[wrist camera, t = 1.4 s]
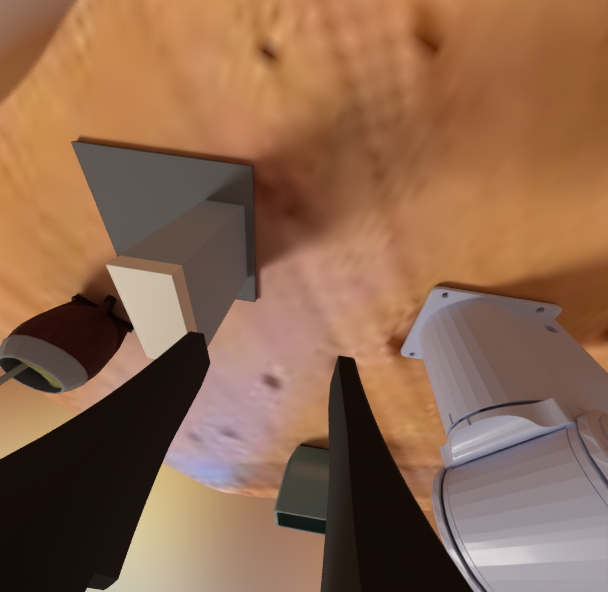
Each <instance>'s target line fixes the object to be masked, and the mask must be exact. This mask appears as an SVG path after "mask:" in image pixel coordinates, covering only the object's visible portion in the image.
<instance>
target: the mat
mask: <svg viewBox="0 0 608 592" xmlns="http://www.w3.org/2000/svg"><path fill="white" fill-rule="evenodd" d="M71 143H72V146H73V148H74V151H75V153H76V155H77V158H78V160H79V163H80V165H81V168H82V170H83V173H84V175H85V178H86V180H87V183H88V185H89V188H90V190H91V192H92V195H93V197H94V200H95V202H96V205H97V207H98V210H99V212H100V215H101V217H102V220H103V222H104V225H105V227H106V229H107V232H108V234H109V237H110V239H111V242H112V244H113V247H114V249H115V252H116V254H117V257H118V256H120V255H121V254H123V253H124V252H126V251H127V250H129V249H130V248H132V247H133V246H135V245H136V244H138V243H140V242H141V241H143V240H144V239H146V238H147V237H149V236H150V235H152V234H153V233H155V232H156V231H158V230H159V229H161V228H162V227H164V226H166V225H167V224H169V223H170V222H172V221H173V220H175V219H176V218H178V217H179V216H181V215H182V214H184V213H185V212H187V211H189V210H190V209H192V208H193V207H195V206H196V205H198V204H199V203H201V202H202V201H204V200H209V201H216V202H222V203H229V204H236V205H243V206H244V214H245V235H246V256H247V277H248V278H247V280H246V282H245V283H244V285H243V287H242V288H241V290H240V292H239V294H238V295H237V297H236V299H238V300H244V301H250V302H256V257H255V214H254V170H253V166H252V165H245V164H238V163H231V162H223V161H216V160H209V159H202V158H195V157H187V156H180V155H173V154H166V153H159V152H151V151H144V150H137V149H130V148H123V147H115V146H108V145H101V144H94V143H87V142H79V141H73V142H71Z"/></svg>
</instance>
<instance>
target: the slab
mask: <svg viewBox="0 0 608 592" xmlns="http://www.w3.org/2000/svg"><path fill="white" fill-rule="evenodd" d="M106 266H107V268H108V271H109V273H110V275H111V277H112V280H113V282H114V284H115V286H116V289H117V291H118V293H119V295H120V298H121V300H122V302H123V304H124V306H125V309H126V311H127V313H128V315H129V318H130V320H131V322H132V324H133V327H134V329H135V331H136V333H137V335H138V338H139V340H140V342H141V344H142V347H143V349H144V351H145V353H146V356H147V358H152V359H157V358H158V357H159V356H160V355H162V354H163V353H164V352H165V351H166V350H168V349H169V348H170V347H171V346H172V345H174V344H175V343H176V342H177V341H178V340H180V339H181V338H182V337H183V336H184V335H186V334H187V333H188V332H190V331H192V332H199V333H204V336H205V341H206V346H207V347H208V345H209V344H210V342H211V340H212V338H213V337H214V335H215V333H216V332H217V330H218V328H219V326H220V325H221V323H222V321H223V319H224V318H225V316H226V314H227V313H228V311H229V309H230V307H231V306H232V304H233V302H234V301H235V299H236V297H237V295H238V294H239V292H240V290H241V288H242V287H243V285H244V283H245V282H246V280H247V278H248V277H247V256H246V235H245V214H244V206H243V205H236V204H229V203H222V202H216V201H209V200H204V201H202V202H201V203H199V204H198V205H196V206H195V207H193V208H192V209H190V210H189V211H187V212H185V213H184V214H182V215H181V216H179V217H178V218H176V219H175V220H173V221H172V222H170V223H169V224H167V225H166V226H164V227H162V228H161V229H159V230H158V231H156V232H155V233H153V234H152V235H150V236H149V237H147V238H146V239H144V240H143V241H141V242H140V243H138V244H136V245H135V246H133V247H132V248H130V249H129V250H127V251H126V252H124V253H123V254H121V255H120V256H118V257H117V258H115V259H113V260H112V261H110V262H109V263H107V264H106Z"/></svg>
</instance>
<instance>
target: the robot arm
mask: <svg viewBox="0 0 608 592" xmlns="http://www.w3.org/2000/svg"><path fill="white" fill-rule="evenodd" d="M446 292H447V294H445V295H442V294H443V293H446ZM538 308H539V309H538ZM561 312H562V309H561V307H559V306H558V305H556V304H550V303H544V302H537V301H531V300H525V299H518V298H512V297H505V296H499V295H493V294H486V293H480V292H474V291H467V290H461V289H454V288H448V287H442V286H437V287H434V288H433V289H432V290H431V292H430V294H429V296H428V298H427V300H426V301H425V303H424V305H423V307H422V309H421V311H420V313H419V315H418V317H417V319H416V321H415V323H414V325H413V327H412V329H411V331H410V333H409V335H408V337H407V339H406V341H405V343H404V344H403V346H402V348H401V354H402V355H403V356H405V357H411V358H417V359H423V360H424V364H425V367H426V370H427V374H428V377H429V380H430V384H431V387H432V390H433V394H434V397H435V400H436V403H437V407H438V410H439V413H440V417H441V420H442V423H443V427H444V430H445V433H446V436H447V440H448V441H447V442H446V443H445V444H444V445H442V446H441V447H440V451H441V455H442V458H443V462H444V466H443V467H442V468H440V469H439V470H438V472H437V473H436V475H435V477H434V480H433V485H432V503H433V511H434V515H435V519H436V524H437V527H438V530H439V533H440V536H441V538H442V541H443V543H444V545H445V547H444V546H443V544H442V543H441V541H440V539H439V538H438V536H437V535H436V533H435V532H434V530H433V528H432V527H431V525H430V523H429V522H428V520H427V519H426V517H425V515H424V513H423V512H422V510H421V508H420V506H419V505H418V503H417V501H416V500H415V498H414V496H413V495H412V493H411V491H410V489H409V488H408V486H407V484H406V482H405V480H404V478H403V477H402V475H401V473H400V471H399V469H398V467H397V465H396V463H395V461H394V459H393V457H392V456H391V453H390V451H389V449H388V447H387V445H386V443H385V441H384V439H383V437H382V434H381V432H380V430H379V428H378V425H377V423H376V421H375V418H374V416H373V413H372V411H371V408H370V406H369V403H368V400H367V398H366V395H365V392H364V389H363V386H362V383H361V380H360V377H359V374H358V370H357V366H356V362H355V360H354V358H351V357H345V356H338V359H337V362H336V366H335V369H334V373H333V376H332V380H331V383H330V395H329V407H328V412H329V487H328V503H327V517H326V531H325V544H324V557H323V570H322V582H321V592H608V373H607V372H606V371H605V370H604V369H603V368H602V367H601V366H600V365H599V364H598V363H597V362H596V361H595V360H594V359H593V357H592V356H591V355H590V354H589V353H588V352H587V351H586V350H585V349H584V348H583V347H582V346H581V345H580V344H579V343H578V342H577V341H576V340H575V339H574V338H573V337H572V336H571V335H570V334H569V333H568V332H567V331H566V330H565V329H564V328H563V327H562V326H561V325H560V324H559V323H558V322H557V321H556V320H555V318H556V317H557V316H558V315H559V314H560V313H561ZM412 352H413V353H412ZM209 365H210V360H209V355H208V350H207V346H206V341H205V336H204V333H199V332H192V331H190V332H188V333H187V334H186V335H184V336H183V337H182V338H181V339H180V340H178V341H177V342H176V343H175V344H174V345H172V346H171V347H170V348H169V349H168V350H166V351H165V352H164V353H163V354H162V355H160V356H159V357H158V358H157V359H155V360H154V361H153V362H152V363H150V364H149V365H148V366H147V367H145V368H144V369H143V370H142V371H140V372H139V373H138V374H137V375H135V376H134V377H132V378H131V379H130V380H128V381H127V382H126V383H124V384H123V385H122V386H120V387H119V388H118V389H116V390H115V391H113V392H112V393H111V394H109V395H108V396H106V397H105V398H103V399H102V400H100V401H99V402H97V403H96V404H94V405H93V406H91V407H90V408H88V409H87V410H85V411H84V412H82V413H80V414H79V415H77V416H76V417H74V418H72V419H71V420H69V421H67V422H66V423H64V424H63V425H61V426H59V427H57V428H56V429H54V430H52V431H51V432H49V433H47V434H46V435H44V436H42V437H40V438H39V439H37V440H35V441H33V442H31V443H29V444H28V445H26V446H24V447H22V448H20V449H18V450H17V451H15V452H13V453H11V454H9V455H7V456H6V457H4V458H2V459H0V592H85V591H86V589H87V588H93V589H100V590H105V589H107V588H108V587H109V586H111V585H112V584H113V583H114V582H115V581H116V580H118V578H119V575H120V572H121V569H122V566H123V563H124V560H125V558H126V555H127V552H128V549H129V546H130V544H131V540H132V538H133V535H134V532H135V530H136V527H137V524H138V522H139V519H140V517H141V514H142V511H143V509H144V506H145V504H146V501H147V498H148V496H149V494H150V491H151V489H152V486H153V484H154V481H155V479H156V476H157V474H158V472H159V469H160V467H161V464H162V462H163V460H164V458H165V455H166V453H167V451H168V448H169V446H170V444H171V442H172V440H173V438H174V436H175V434H176V433H177V431H178V429H179V427H180V425H181V423H182V421H183V420H184V418H185V416H186V414H187V412H188V410H189V408H190V407H191V405H192V403H193V401H194V399H195V397H196V395H197V393H198V391H199V390H200V388H201V386H202V383H203V381H204V378H205V376H206V373H207V371H208V368H209ZM445 548H446V549H445Z"/></svg>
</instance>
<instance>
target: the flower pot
mask: <svg viewBox="0 0 608 592" xmlns="http://www.w3.org/2000/svg"><path fill="white" fill-rule="evenodd" d="M328 487H329V450H326V449H318V448H312V447H306V446H298V447H297V448H296V449H295V451H294V452H293V454H292V455H291V457H290V459H289V461H288V463H287V466H286V468H285V471H284V474H283V478H282V482H281V486H280V489H279V493H278V497H277V501H276V505H275V509H274V515H275V520H276V525H277V526H280V527H284V528H289V529H295V530H300V531H305V532H312V533H316V534H321V535H325V531H326V517H327V503H328Z"/></svg>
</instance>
